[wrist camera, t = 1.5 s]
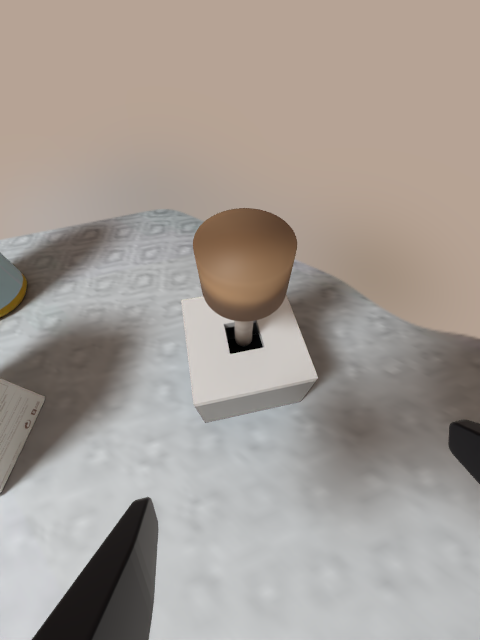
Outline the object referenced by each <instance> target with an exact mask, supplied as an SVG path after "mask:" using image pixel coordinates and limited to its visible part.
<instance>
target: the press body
mask: <svg viewBox="0 0 480 640" xmlns="http://www.w3.org/2000/svg"><path fill="white" fill-rule="evenodd" d="M181 302H182V311H183V319H184V328H185V336H186V345H187V353H188V362H189V370H190V379H191V387H192V396H193V404H194V406H195V408H196V409H197V411H198V412H199V414H200V415H201V417H202V419H203V420H204V422H205V423H207V422H212V421H216V420H221V419H225V418H230V417H234V416H239V415H243V414H248V413H252V412H257V411H261V410H266V409H270V408H275V407H279V406H283V405H288V404H292V403H297V402H300V401H301V400H302V399H303V397H304V396H305V395H306V393H307V392H308V391H309V389H310V388H311V387H312V385H313V384H314V383H315V381H316V380H317V379H318V376H317V373H316V371H315V368H314V366H313V363H312V360H311V358H310V355H309V352H308V350H307V347H306V345H305V342H304V339H303V337H302V334H301V332H300V329H299V326H298V324H297V321H296V318H295V316H294V313H293V311H292V308H291V305H290V303H289V300H288V298H287V295H286V296H285V299H284V301H283V303H282V304H281V306H280V307H279V308H278V309H277V310H276V311H275V312H274V313H272V314H271V315H269V316H267V317H265V318H262V319H260V320H255V321H253V331H252V335H255V334H259V336H260V339H261V343H262V346H263V348H258V349H253V350H248V351H243V352H238V353H233V354H230V351H229V347H228V342H227V340H229V339H234V338H235V323H234V320H230V319H227V318H224V317H222V316H220V315H218V314H217V313H215V312H214V311H213V310H212V309H211V308H210V307H209V306H208V304H207V303H206V301H205V299H204V297H203V296H202V297H196V298H190V299H184V300H181Z"/></svg>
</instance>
